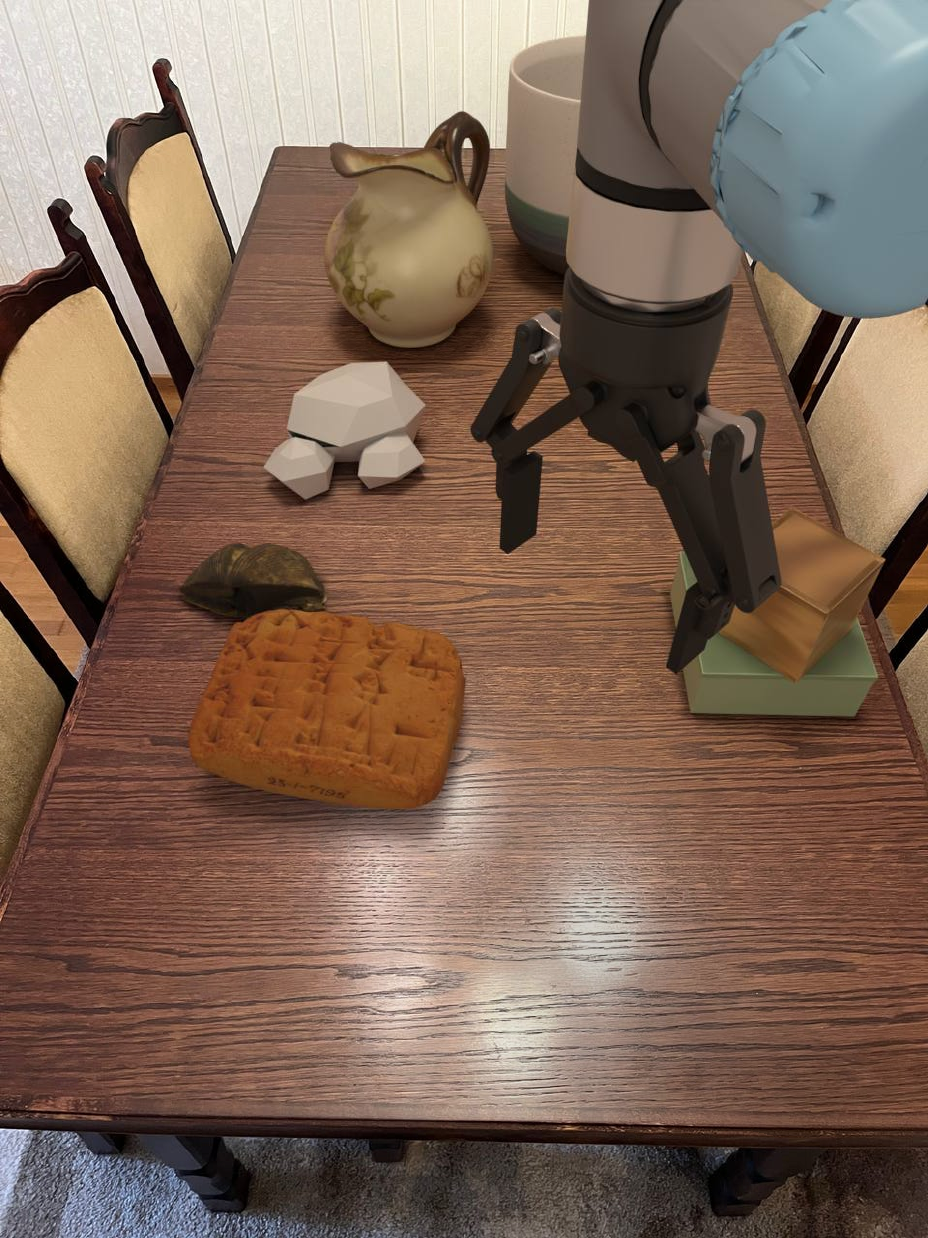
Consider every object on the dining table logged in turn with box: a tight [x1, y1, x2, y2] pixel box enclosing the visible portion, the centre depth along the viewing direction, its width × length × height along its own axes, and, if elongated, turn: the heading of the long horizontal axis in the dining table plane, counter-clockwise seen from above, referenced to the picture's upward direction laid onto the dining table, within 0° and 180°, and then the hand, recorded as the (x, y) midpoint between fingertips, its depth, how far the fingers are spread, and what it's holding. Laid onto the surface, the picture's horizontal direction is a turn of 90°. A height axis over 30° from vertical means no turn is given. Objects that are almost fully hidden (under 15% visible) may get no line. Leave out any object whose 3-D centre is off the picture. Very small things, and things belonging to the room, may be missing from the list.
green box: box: [669, 551, 879, 717], centre depth 85 cm, size 15×15×6 cm
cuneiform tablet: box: [187, 609, 466, 810], centre depth 78 cm, size 22×17×8 cm
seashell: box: [179, 542, 328, 620], centre depth 90 cm, size 16×9×7 cm, turn 75°
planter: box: [504, 34, 586, 276], centre depth 129 cm, size 27×27×27 cm
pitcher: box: [323, 110, 495, 349], centre depth 118 cm, size 22×24×25 cm
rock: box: [263, 361, 426, 500], centre depth 104 cm, size 18×20×10 cm
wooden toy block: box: [719, 506, 886, 684], centre depth 78 cm, size 9×9×9 cm
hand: (596, 597), depth 56 cm, fingers open, 13 cm apart
